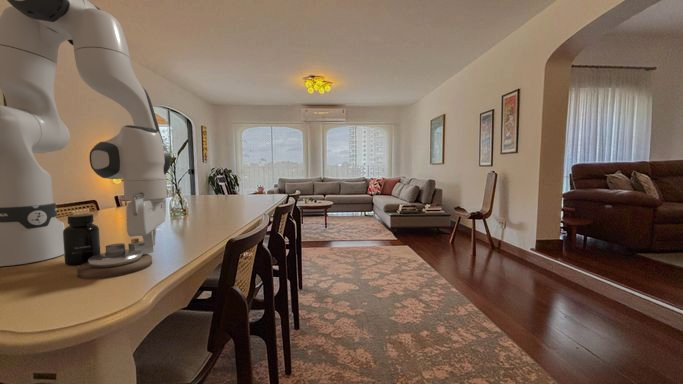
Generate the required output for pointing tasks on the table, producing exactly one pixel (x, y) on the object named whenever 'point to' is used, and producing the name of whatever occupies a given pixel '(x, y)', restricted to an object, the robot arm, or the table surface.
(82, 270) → the walnut base
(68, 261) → the supplement bottle
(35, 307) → the table surface
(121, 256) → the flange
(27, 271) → the table surface
